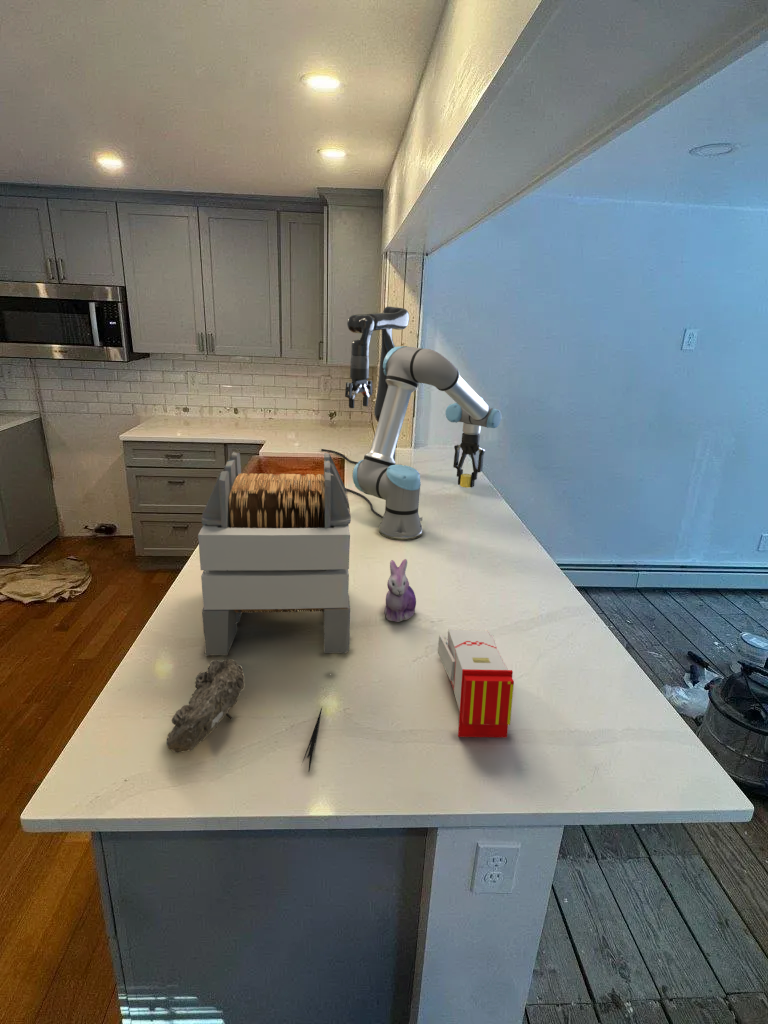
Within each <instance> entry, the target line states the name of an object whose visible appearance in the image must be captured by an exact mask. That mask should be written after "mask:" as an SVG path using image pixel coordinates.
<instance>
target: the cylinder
mask: <svg viewBox="0 0 768 1024" xmlns="http://www.w3.org/2000/svg"><path fill="white" fill-rule="evenodd" d="M471 474H472V473H463V474H461V478H460V485H459V487H461V488H466V489H468V488H471V487H470V484H471Z"/></svg>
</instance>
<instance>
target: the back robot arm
mask: <svg viewBox="0 0 768 1024" xmlns="http://www.w3.org/2000/svg"><path fill="white" fill-rule="evenodd" d="M409 323H410V313H409V311H408V310H407V309H406V308H403V307H398V306H386V307H384V309H383V311H382V312H371V313H354V314H352V315H350V316H349V317H348V319H347V322H346V325H347V328H348V330H349V331H350V332H351V333H353V334H361V336H360V338H357V339H353V340H352V341H351V348H350V349H351V351H350V352H351V353H350V363H349V364H350V367H349V368H350V369H349V378H350V379H351V382H348V381H347V382H345V388H344V389H345V390H344V391H345V392H344V397H345V398H347V399H348V407H349V409H355V398H356V396H357V395H358V394H360V393H361V394H362V396H363V397H362V406H363V407H368V406H369V398H370V396H373V381H372V380H369V377H370V344H371V340H372V336H373V332H377V331H381V344H380V345H381V347H380V359H379V368H378V369H379V370H378V371H379V372H378V382H377V383H378V384H377V391H376V397H375V402H374V410H373V415H374V419H375V420H376V422H377V423H378V421H379V418H380V414H381V411H382V407H383V404H384V400H385V396H386V393H387V389H388V384H387V383H386V377H387V376H386V375H385V373H384V368H383V362H384V359H385V356H386V355H387V353H388V352H389V351H390V350H391V349H393V348H394V347H396V345H395V343H394V340H393V330H398V331H403V330H405V329H406V328H407V326H408V325H409ZM320 450H321V452H328V453H333V454H336V455H339V456H341V457H342V458H344V459H345V460H346V461H347V462H349V463H351V464H355V465H356V464H358V462H359V461H354V460H351V459H349V458H348V457H346V456H345V454H344V453H342V452H338V451H335V450H331V449H325V448H321V449H320ZM393 459H394V461H395V462H396V449H395V452H394V456H393Z"/></svg>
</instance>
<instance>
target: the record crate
mask: <svg viewBox="0 0 768 1024" xmlns="http://www.w3.org/2000/svg"><path fill="white" fill-rule="evenodd" d="M241 463H242V462H241V453H240V452H235V451H233V452H231V455H230V457H229V459H227V460H226V463H225V466H224V468H223V470H222V471H220V474H219V475H218V477H217V479H216V482H215V483H214V486H213V489H212V491H211V494H210V495H209V498H208V499H207V502H206V505H205V507H204V509H203V511H202V514H201V517H200V520H201V524H202V527H201V529H200V530H199V532H198V535H197V538H198V550H199V552H198V553H199V563H200V565H199V567H200V571H202V573H201V575H200V580H201V581H200V582H201V594H202V605H203V607H202V609H201V610H202V611H201V617H202V629H203V638H204V639H203V640H204V649H205V650H204V651H205V652H204V655H205V656H206V657H212V656H228V654H229V652H230V650H231V647H232V645H233V643H234V640H235V638H236V635H237V632H238V623H240V620H241V617H242V614H244V613H250V614H251V613H253V614H254V613H257V614H258V613H298V612H301V613H302V612H308V613H309V612H322V614H323V654H344V655H346V654H347V653H349V652H350V639H351V604H350V595H349V594H350V593H349V586H350V585H349V584H350V572H349V571H350V570H349V569H350V549H351V548H350V547H351V545H350V542H351V533H350V532H351V531H350V526H349V525H350V524H351V520H352V516H351V515H352V514H351V509H350V502H349V496H348V491H347V490H346V488H347V487H346V486H345V484H344V482H343V480H342V478H341V474H340V473H339V471H338V469H337V466H336V465H335V462H334V460H333V458H332V455H331V454H330V453H329V452H328V453H326V452H324V453H323V473H322V474H321V473H318V474H316V475H315V474H314V473H306V474H303V475H302V474H301V473H280V474H273V473H244V472H243V473H242V466H241Z"/></svg>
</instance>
